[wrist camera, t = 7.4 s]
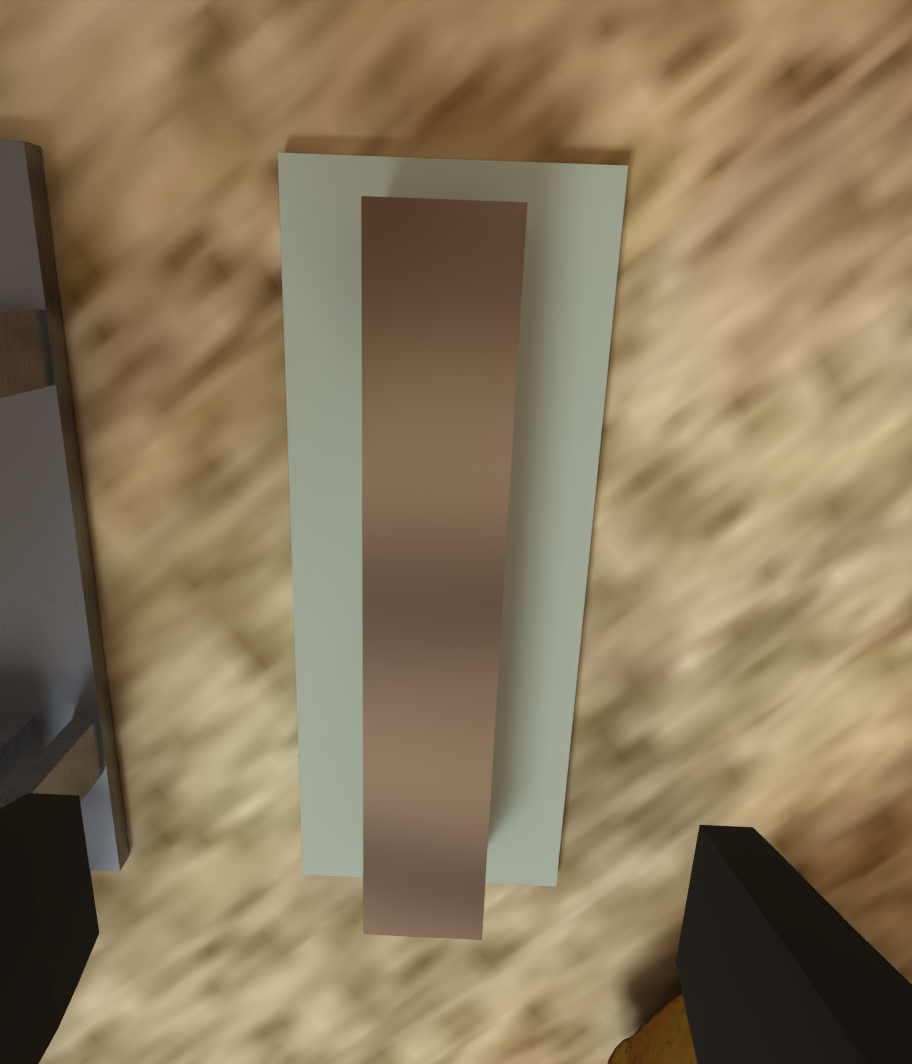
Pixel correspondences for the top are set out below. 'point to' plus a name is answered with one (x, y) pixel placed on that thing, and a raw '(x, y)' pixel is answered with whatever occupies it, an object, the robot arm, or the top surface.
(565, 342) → the mat
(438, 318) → the rail
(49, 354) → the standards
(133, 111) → the top surface
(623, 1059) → the decorative figurine
